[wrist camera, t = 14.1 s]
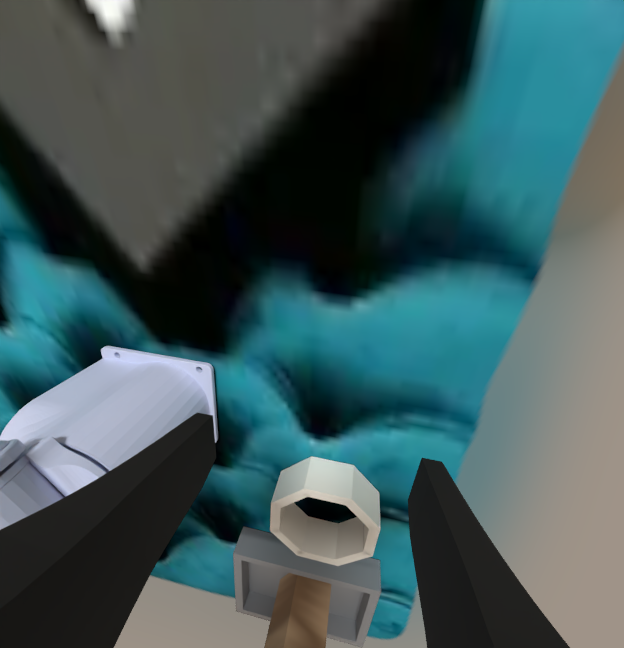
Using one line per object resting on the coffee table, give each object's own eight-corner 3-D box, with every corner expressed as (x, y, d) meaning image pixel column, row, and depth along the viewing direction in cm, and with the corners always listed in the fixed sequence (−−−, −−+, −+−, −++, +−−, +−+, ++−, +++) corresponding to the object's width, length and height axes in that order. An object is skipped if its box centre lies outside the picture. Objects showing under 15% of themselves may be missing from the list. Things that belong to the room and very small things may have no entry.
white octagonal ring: (278, 514, 28) (269, 548, 25) (282, 450, 24) (271, 481, 22) (367, 536, 27) (367, 573, 24) (384, 471, 23) (386, 507, 21)
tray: (244, 584, 34) (236, 611, 32) (243, 526, 30) (233, 553, 27) (362, 616, 32) (362, 647, 30) (379, 560, 28) (380, 591, 26)
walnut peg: (280, 579, 31) (248, 714, 23) (299, 565, 29) (272, 705, 21) (310, 597, 31) (290, 736, 23) (331, 584, 30) (317, 730, 21)
